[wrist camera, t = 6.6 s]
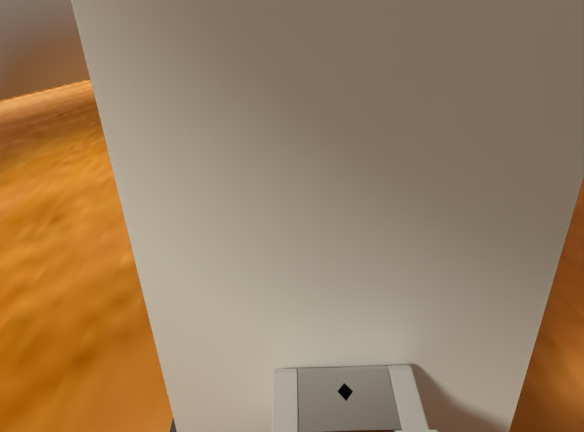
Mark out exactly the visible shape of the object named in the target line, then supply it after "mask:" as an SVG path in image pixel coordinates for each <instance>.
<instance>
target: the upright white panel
mask: <svg viewBox="0 0 584 432" xmlns="http://www.w3.org/2000/svg"><path fill="white" fill-rule="evenodd" d="M71 2H72V6H73V10H74V14H75V18H76V22H77V26H78V30H79V35H80V38H81V43H82V47H83V51H84V55H85V59H86V63H87V67H88V71H89V75H90V79H91V83H92V88H93V92H94V96H95V100H96V104H97V108H98V112H99V116H100V120H101V124H102V128H103V132H104V137H105V141H106V145H107V149H108V153H109V157H110V161H111V165H112V169H113V173H114V177H115V181H116V185H117V190H118V194H119V198H120V202H121V206H122V210H123V214H124V218H125V222H126V226H127V230H128V234H129V238H130V243H131V247H132V251H133V255H134V259H135V263H136V267H137V271H138V275H139V279H140V283H141V287H142V292H143V296H144V300H145V304H146V308H147V312H148V316H149V320H150V324H151V328H152V332H153V336H154V340H155V345H156V349H157V353H158V357H159V361H160V365H161V369H162V373H163V377H164V381H165V385H166V389H167V393H168V398H169V402H170V406H171V410H172V414H173V418H174V422H175V426H176V430H177V432H271V429H272V396H273V373H274V369H296V368H341V367H360V366H383V365H385V366H390V365H410V367H411V368H412V371H413V374H414V378H415V381H416V385H417V388H418V392H419V395H420V399H421V402H422V406H423V409H424V413H425V416H426V420H427V423H428V427H429V430H437V431H438V432H509V430H510V427H511V423H512V420H513V417H514V413H515V410H516V406H517V403H518V399H519V396H520V393H521V389H522V386H523V382H524V379H525V376H526V372H527V369H528V365H529V362H530V358H531V355H532V352H533V348H534V345H535V341H536V338H537V334H538V331H539V328H540V324H541V321H542V317H543V314H544V311H545V307H546V304H547V300H548V297H549V293H550V290H551V287H552V283H553V280H554V276H555V273H556V270H557V266H558V263H559V259H560V256H561V252H562V249H563V246H564V242H565V239H566V235H567V232H568V228H569V225H570V222H571V218H572V215H573V211H574V208H575V205H576V201H577V198H578V194H579V191H580V187H581V184H582V181H583V177H584V0H71ZM297 379H298V372H297Z"/></svg>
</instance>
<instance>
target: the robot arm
mask: <svg viewBox="0 0 584 432" xmlns="http://www.w3.org/2000/svg"><path fill="white" fill-rule="evenodd" d="M297 372H298V379H297ZM271 432H438V431H437V430H429V427H428V423H427V420H426V416H425V413H424V409H423V406H422V402H421V399H420V395H419V392H418V388H417V385H416V381H415V378H414V374H413V371H412V368H411V367H410V365H390V366H385V365H383V366H360V367H341V368H296V369H274V373H273V396H272V429H271Z"/></svg>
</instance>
